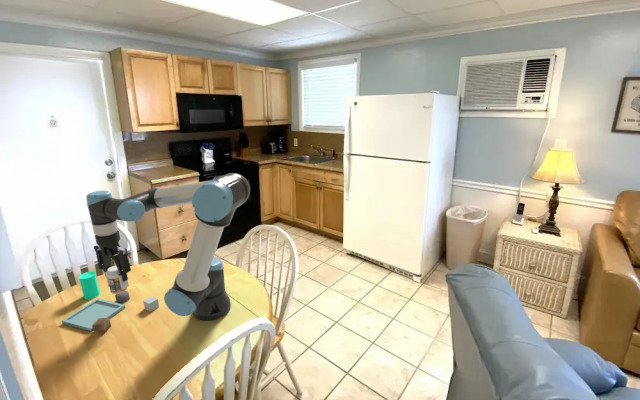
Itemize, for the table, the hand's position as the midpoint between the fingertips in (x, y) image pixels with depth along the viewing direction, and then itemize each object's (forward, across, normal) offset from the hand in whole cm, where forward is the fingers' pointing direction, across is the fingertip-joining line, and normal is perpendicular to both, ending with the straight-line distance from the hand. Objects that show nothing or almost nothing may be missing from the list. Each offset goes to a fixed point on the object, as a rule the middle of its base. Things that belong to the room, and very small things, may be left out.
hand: (118, 286), depth 122 cm
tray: (+14, +12, +3) cm, 19 cm away
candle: (+14, +26, -7) cm, 31 cm away
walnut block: (+15, +2, +8) cm, 17 cm away
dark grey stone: (+15, +10, -8) cm, 20 cm away
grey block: (+15, -6, -8) cm, 18 cm away
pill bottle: (+2, 0, 0) cm, 2 cm away
